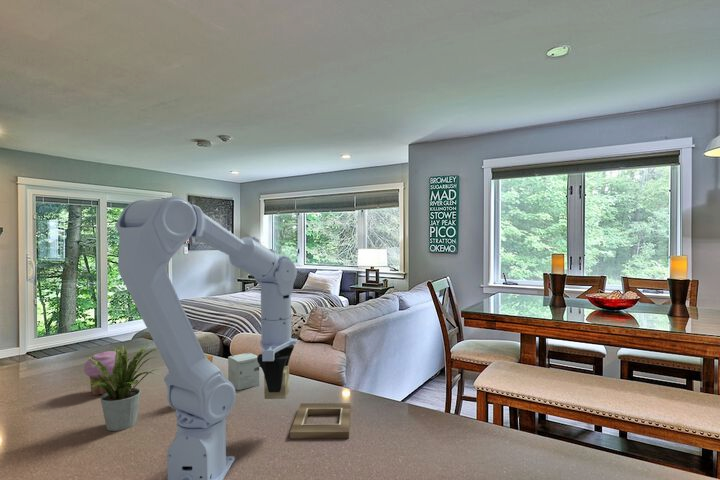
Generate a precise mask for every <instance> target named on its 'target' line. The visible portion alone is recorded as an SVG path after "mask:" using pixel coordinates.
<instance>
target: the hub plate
mask: <svg viewBox="0 0 720 480" xmlns="http://www.w3.org/2000/svg"><path fill="white" fill-rule="evenodd" d="M351 411H352V403H351V402H333V403H332V402H330V403H329V402H327V403H326V402H324V403H323V402H322V403H320V402H319V403H316V402H315V403H311V402H310V403H309V402H308V403H302V402H301V403H300V405H299V407H298V410H297V412H296V415H295V417H294V421H293V423H292V426H291V429H290V430H289V438H290V439H350V428H351ZM318 415H319V416H323V415H324V416H328V415H329V416H331V415H332V416H333V415H337V416H338V415H339V422H338V423H306V422H307V421H308V417H309V416H318Z"/></svg>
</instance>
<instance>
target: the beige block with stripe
mask: <svg viewBox="0 0 720 480" xmlns="http://www.w3.org/2000/svg"><path fill="white" fill-rule="evenodd" d="M263 377H264V378H263V381H264V382H263V385H264V386H263V387H264V400H273V399H274V400H277V399H279V400H280V399H281V400H285V399H287V397H288V394H289V393H290V366H289V365H288V366H285V367H284V371H283V378H282V385H281V390H280V392H269V391H268V388H267V384H266V379H265V376H263Z"/></svg>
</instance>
